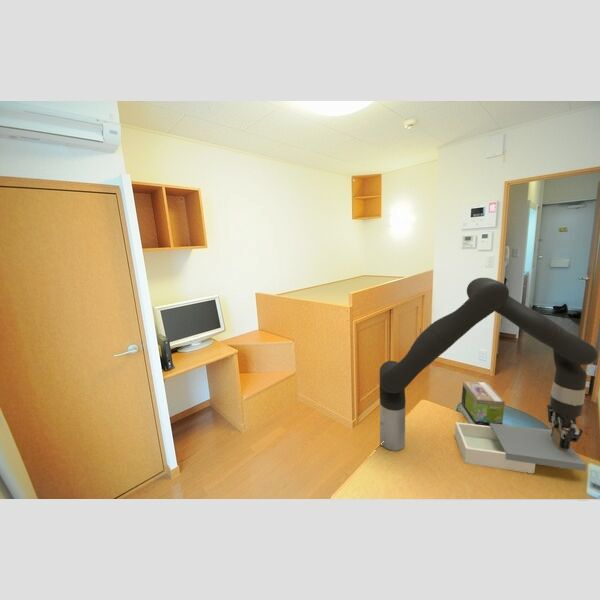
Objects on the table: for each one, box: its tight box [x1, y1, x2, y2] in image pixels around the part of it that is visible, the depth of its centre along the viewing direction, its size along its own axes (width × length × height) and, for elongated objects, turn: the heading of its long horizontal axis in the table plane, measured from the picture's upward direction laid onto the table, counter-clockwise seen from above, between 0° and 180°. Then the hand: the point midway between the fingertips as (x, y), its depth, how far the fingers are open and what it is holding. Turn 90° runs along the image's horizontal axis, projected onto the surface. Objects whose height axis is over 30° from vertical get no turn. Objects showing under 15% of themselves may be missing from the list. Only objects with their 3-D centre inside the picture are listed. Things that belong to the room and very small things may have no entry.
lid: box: [489, 423, 587, 472], centre depth 92 cm, size 21×15×7 cm
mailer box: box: [454, 421, 536, 474], centre depth 96 cm, size 20×14×6 cm
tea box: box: [460, 380, 506, 426], centre depth 111 cm, size 15×10×15 cm, turn 168°
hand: (559, 442), depth 89 cm, fingers closed on lid, 4 cm apart
